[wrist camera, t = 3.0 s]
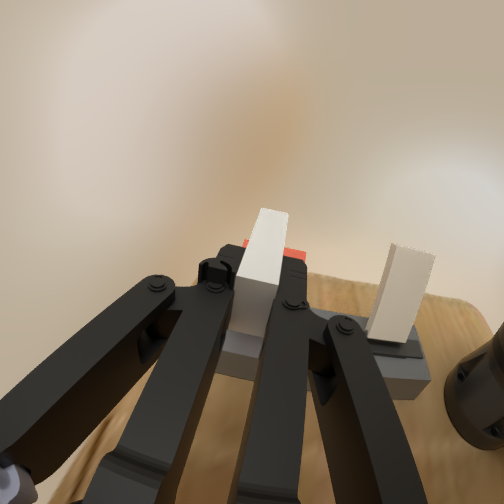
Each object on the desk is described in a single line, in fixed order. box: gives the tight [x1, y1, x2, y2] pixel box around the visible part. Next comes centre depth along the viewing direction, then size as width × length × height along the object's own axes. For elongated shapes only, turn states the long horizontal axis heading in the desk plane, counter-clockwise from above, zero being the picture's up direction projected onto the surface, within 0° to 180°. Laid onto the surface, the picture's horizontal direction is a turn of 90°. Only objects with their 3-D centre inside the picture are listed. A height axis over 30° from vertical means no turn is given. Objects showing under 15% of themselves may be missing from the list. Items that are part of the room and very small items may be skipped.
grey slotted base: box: [215, 308, 431, 400], centre depth 31 cm, size 26×9×4 cm, turn 80°
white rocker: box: [364, 243, 435, 344], centre depth 28 cm, size 5×2×10 cm, turn 80°
